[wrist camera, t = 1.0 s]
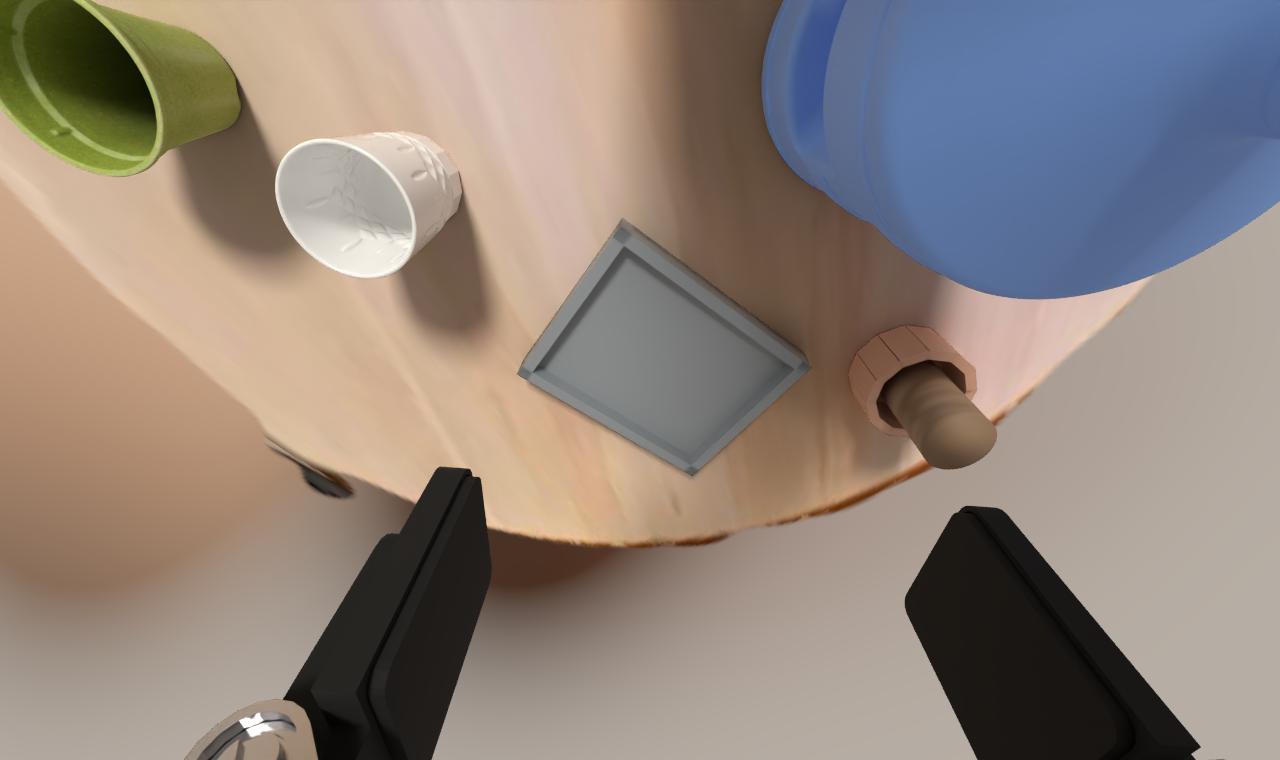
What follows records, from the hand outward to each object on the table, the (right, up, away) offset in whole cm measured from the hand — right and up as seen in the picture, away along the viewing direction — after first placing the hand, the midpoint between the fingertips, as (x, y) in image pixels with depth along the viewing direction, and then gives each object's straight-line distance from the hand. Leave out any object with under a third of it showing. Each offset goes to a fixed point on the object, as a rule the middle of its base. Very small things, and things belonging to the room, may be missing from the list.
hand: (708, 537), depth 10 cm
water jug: (+14, +24, +22) cm, 36 cm away
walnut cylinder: (+22, +4, +34) cm, 41 cm away
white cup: (-18, +18, +27) cm, 37 cm away
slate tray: (+1, +5, +34) cm, 35 cm away
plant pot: (-32, +24, +24) cm, 46 cm away
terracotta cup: (+22, +4, +34) cm, 41 cm away
